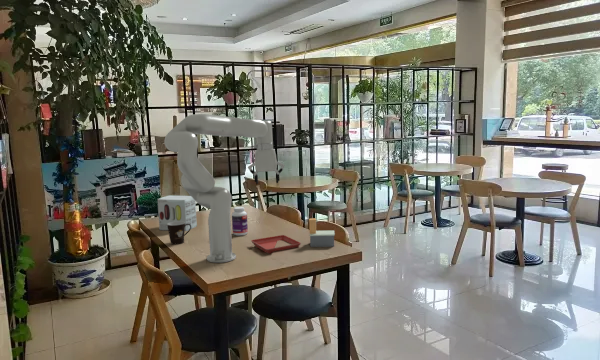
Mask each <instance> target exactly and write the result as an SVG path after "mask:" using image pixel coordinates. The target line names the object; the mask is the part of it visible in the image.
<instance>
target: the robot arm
mask: <svg viewBox="0 0 600 360" xmlns="http://www.w3.org/2000/svg"><path fill="white" fill-rule="evenodd" d="M197 135H203V136H204V135H205V136H217V137H230V138H231V137H244V138H246V139H247V138H248V139H250V138H256V144H254V145H253V148H254V149H256V150H255V151H254V162H253V163H251V164H250V165H248V166H247V169H248V170H249V172H250V173H251V174H252V175H253V176H254V179H253V180H254V183H255V184H256V185H257V184H259V175H258V173H259V172H263V173H265V172H274V173H276V174H275V182H276V184H279V182H280V174H281V172H283V170H284V168H285V164H284V163H281V162H280V161H278V160H277V154H276V151H275V148H274V141H273V124H272V121H271V120H259V119H251V118H240V117H233V116H224V115H217V114H215V115H214V114H207V113H195V114H189V115H188V116H185V118H183V119H182V120H181V121H180V122H178V123H177V124H176V125H175V126H174V127H173V128H172V129H171V130H169V131H168V132H167V133H166V135H165V138H164V142H163V143H164V146H165V148H166V149H167V150H168V151H170V152H173V153H177V158H176V159H177V161H176V162H177V167H178V169H179V171H180V172H181V173H182V175H181V177H180V182H181V186H182V188H183V189H184V190H185V192H186V193H188V194H189V196H191V197H192V198H193V199H194V200H195V203H197V204H198V205H200V206H201V207H204V208H208V209H210V210H209V213H208V217H207V222H208V238H209V239H208V240H209V241H208V242H209V255H207V256H206V260H207V262H210V263H227V262H231V261H234V260H235V259H236V258H237V255H236V253H234V252H233V243H232V241H233V240H232V239H233V238H232V219H231V210H232V209H231V208H232V202H233V201H232V200H233V199H232V198H233V197H232V194H231V192H230V190H228V189H227V188H225V187H221V186H215V185H216V184H215V183H216V181H215V178H214V176H213V175H212V174H211V173H210V172H209V170H208V169H207V168H206V167H205V166H204V164H202V162H201V161H200V160H199V158H198V147H199V139H198V137H197ZM278 166H280V169H278ZM253 167H254V168H255V170H253Z"/></svg>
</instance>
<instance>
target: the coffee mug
mask: <svg viewBox="0 0 600 360" xmlns="http://www.w3.org/2000/svg"><path fill="white" fill-rule="evenodd" d="M186 225H190V224H185V222H171V223H168V224H167V226H168V230H167V231H168V236H169V240H170V245H173V246H175V245H177V246H178V245H182V244H184V243H185V236H186V235H187V234H189V232H191V230H192V229H191V225H190V229H189V230H188V231H185V226H186Z"/></svg>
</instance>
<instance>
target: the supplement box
mask: <svg viewBox="0 0 600 360" xmlns="http://www.w3.org/2000/svg"><path fill="white" fill-rule="evenodd" d="M196 206H197V204H196V201H195V200H194V199H193V198H192V197H191V196H190V195H172V194H171V195H166V196H163V197H160V198H157V211H158V228H159V231H168V226H167V224H168V223H171V222H185V224H190V225H191V230H192V229H194V228H196V227H197V226H198V224H197V207H196ZM190 225H186V226H185V232H188V231H189V229H190Z"/></svg>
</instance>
